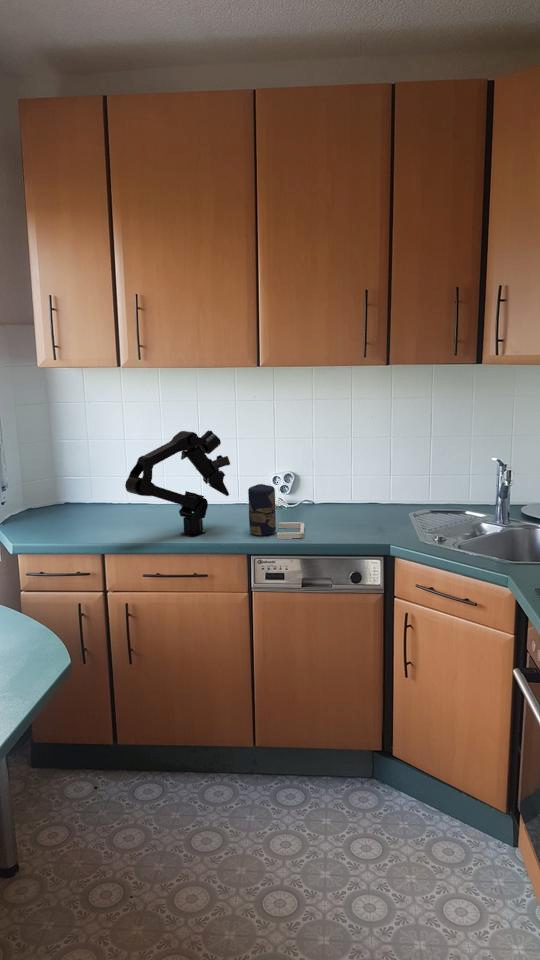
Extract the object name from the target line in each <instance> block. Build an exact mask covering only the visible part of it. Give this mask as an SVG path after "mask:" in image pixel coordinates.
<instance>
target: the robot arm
mask: <svg viewBox="0 0 540 960" xmlns="http://www.w3.org/2000/svg"><path fill="white" fill-rule="evenodd" d="M221 442H222V441H221V439H220V438H219V437H218V435H216V434H215V433H213V430H207V431H206V432H205V433H204V434H202V436H201V437H199V436H198V434H197V433H196V432H194V431H186V430H181V431H179V432H178V433H176V434H175V435H174V436H173V437H172V438H171V440H170V441H169V442H167V443H165V444H163V445H161V446H159V447H157V448H156V449H153V450H152V451H149V452H148V453H146V454H144V455H140V456H139V457H138V458H137V461H136V463H135V465H134V466H133V468H132V469H131V471H130V472H129V475H128V477H127V479H126V481H125V484H124V485H125V489H126V492H128V493H130V494H134V495H137V496H143V497H154V498H157V499H161V500H164V501H167V502H171V503H172V504H177V505H179V506H180V507H181V508H180V509H179V511H178V512H179V513H178V514H179V515H180V517H183V518H182V519H183V520H182V521H183V532H180V534H181V535H183V536H186V537H187V536H188V537H192V538H193V537H197V536H200V535H204V534H206V533H207V532H206V530H205V531H204V525H203V524H204V523H203V521H204V520H203V519H205V518H206V514H207V511H208V506H209V502H208V500H207V498H205V496H204V495H202V494H198V493H195V492H191V491H187V490H185V493H184V494H183V493H179V492H175V491H172V490H170V489H167V488H164V487H160V486H157V485H156V484H155V483H154V482H152V480H153V468H154V466H156V465H158V464H160V463H161V462H163V461H165V460H166V459H168V458H170V457H172V456H174V455H175V454H177V453H180V452H181V456H180V460H184V459H186V458H187V460H189V462H190V463H191V464H192V465H193V467H194V468H195V469H196V471H197V472H198V473H199V474H200V475H201V476H202V481H203V482H204V483H205V485H208V486H209V487H210V488H212V489H214V490H216V491H217V492H218V493H220V494H221V495H222V494H223V495H224V496H226V497H228V496H230V493H229V490H228V489H227V487H226V485H225V483H224V478H225V476H226V474H225V473H224V471H223V470H220V468H223V467H227V466H231V461H230V459H229V456H228V455H227V456H226V455H225V456H223V455H221V454H219V455H217V456H216V459H214V460H212V458H210V457H208V456H207V455H210V454H211V453H213V452H214V451H215V450H217V448H219V446H220V445H222V443H221ZM141 474H142V477H140V475H141Z"/></svg>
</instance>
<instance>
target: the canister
mask: <svg viewBox="0 0 540 960" xmlns="http://www.w3.org/2000/svg"><path fill="white" fill-rule="evenodd" d="M247 493H248V497H247V498H248V522H249V523H248V524H249V532H250V533H251V534H252V535H256V536H268V535H271V534H274V533H275V532H276V531H277V524H276V523H277V522H276V519H277V518H276V489H275V487H274V486H272V485H268V484H265V483H264V484H263V483H260V484H258V483H257V484H255V485H252V486H250V487H249V488H248V490H247Z"/></svg>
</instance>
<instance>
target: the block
mask: <svg viewBox="0 0 540 960" xmlns="http://www.w3.org/2000/svg"><path fill="white" fill-rule="evenodd" d="M279 528H287V529H300V530H299V531H300V532H299V531H297V532H290V531H289V532H277V533H276V538H277V539H276V540H293V539H292V538H304V539H305V521H303V522H301V521H299V522H298V521H294V522H292V521H291V522H290V521H289V522H288V521H287V522H286V521H285V522H278V529H279Z"/></svg>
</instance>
